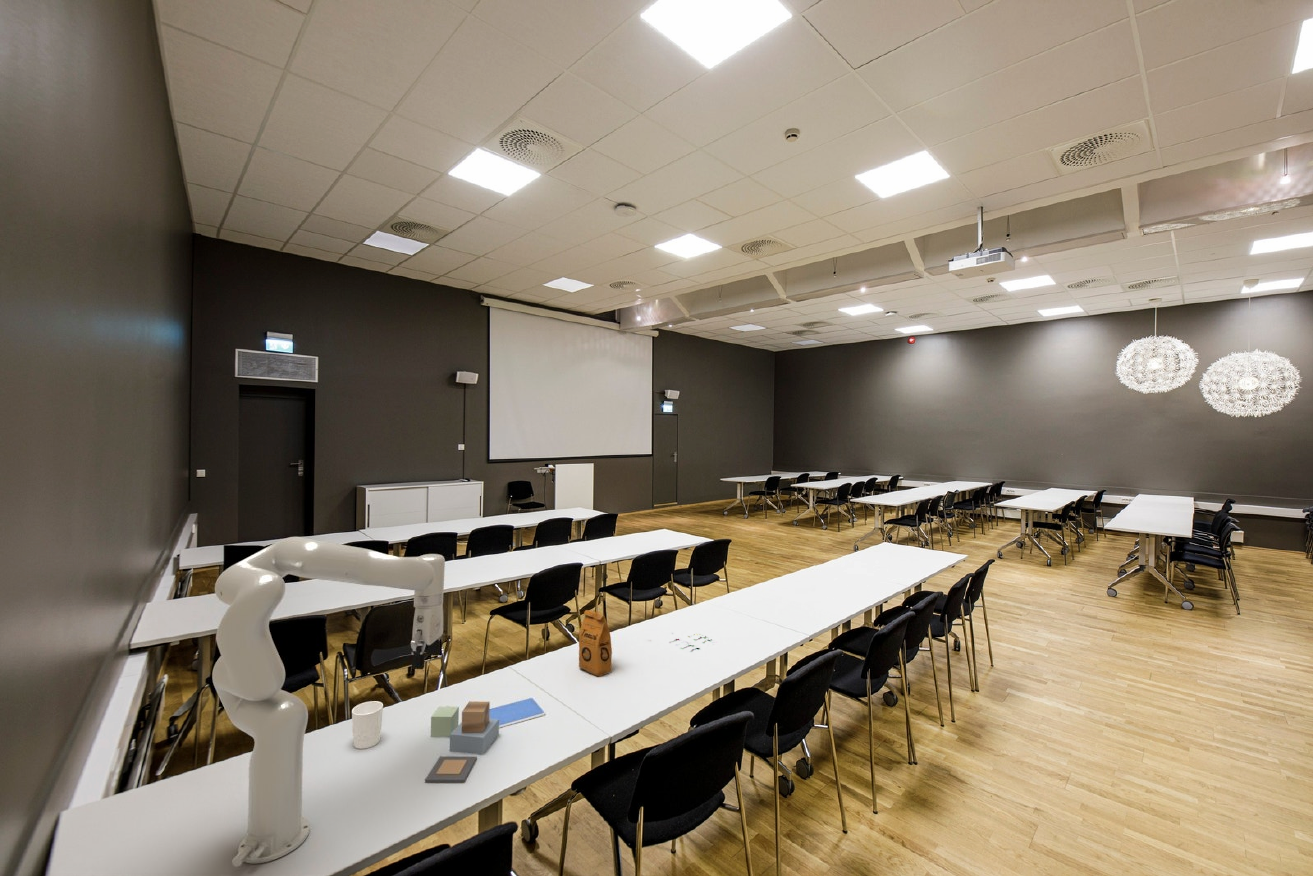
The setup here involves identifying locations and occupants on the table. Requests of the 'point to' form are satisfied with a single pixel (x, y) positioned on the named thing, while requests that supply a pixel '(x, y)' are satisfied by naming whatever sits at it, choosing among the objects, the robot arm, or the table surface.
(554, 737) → the table surface
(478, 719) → the walnut cube
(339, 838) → the table surface
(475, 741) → the base block
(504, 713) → the tablet computer
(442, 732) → the sage cube
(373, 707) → the white cup
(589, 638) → the coffee package
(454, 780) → the tile
